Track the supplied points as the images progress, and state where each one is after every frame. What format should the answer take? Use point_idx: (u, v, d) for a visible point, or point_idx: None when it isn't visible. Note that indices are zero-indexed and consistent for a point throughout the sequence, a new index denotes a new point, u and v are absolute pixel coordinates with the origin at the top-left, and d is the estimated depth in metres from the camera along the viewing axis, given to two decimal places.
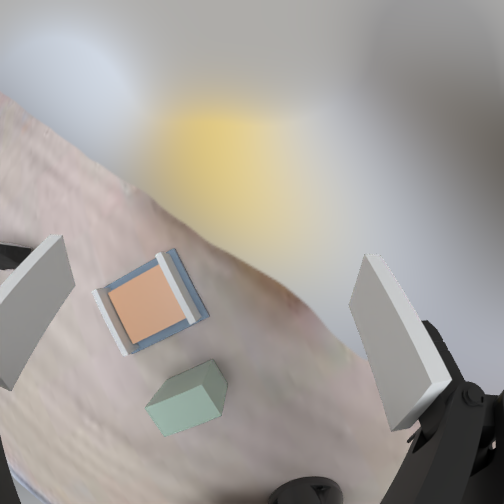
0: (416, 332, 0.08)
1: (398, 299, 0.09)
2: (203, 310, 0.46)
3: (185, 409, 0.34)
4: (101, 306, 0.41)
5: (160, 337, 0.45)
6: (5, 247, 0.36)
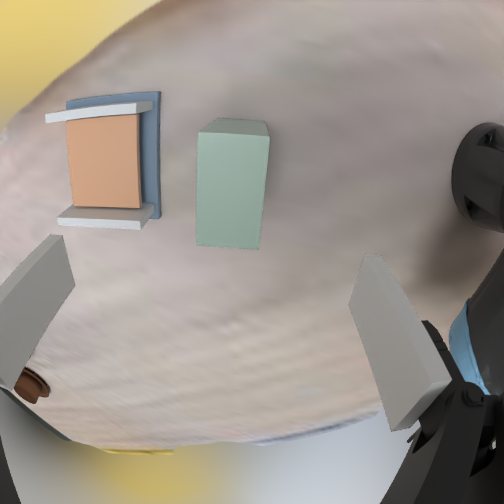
0: (416, 332, 0.08)
1: (398, 299, 0.09)
2: (146, 94, 0.27)
3: (227, 184, 0.21)
4: (76, 222, 0.29)
5: (152, 167, 0.32)
6: None
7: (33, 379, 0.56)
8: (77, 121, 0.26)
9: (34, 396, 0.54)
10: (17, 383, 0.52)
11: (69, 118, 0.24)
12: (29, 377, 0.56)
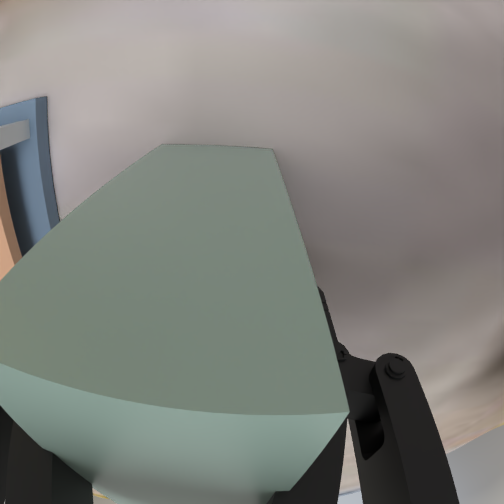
0: None
1: None
2: (18, 106, 0.10)
3: (146, 484, 0.04)
4: None
5: None
6: None
7: None
8: None
9: None
10: None
11: None
12: None
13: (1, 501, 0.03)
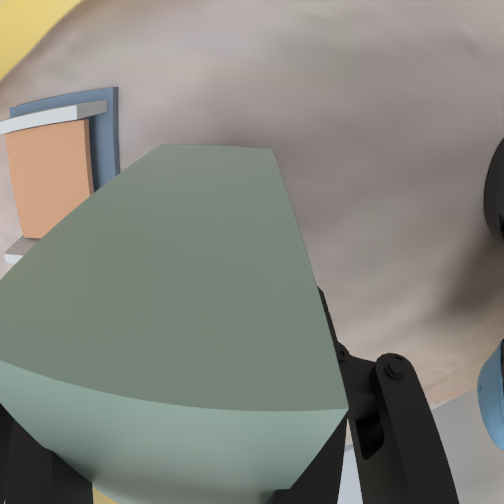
0: None
1: None
2: (99, 91, 0.19)
3: (146, 483, 0.04)
4: None
5: None
6: None
7: None
8: (17, 133, 0.18)
9: None
10: None
11: (2, 131, 0.15)
12: None
13: (1, 501, 0.03)
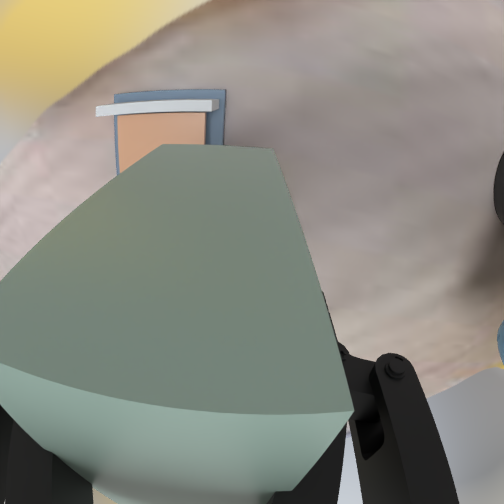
0: None
1: None
2: (212, 91, 0.26)
3: (148, 485, 0.04)
4: None
5: None
6: None
7: None
8: (132, 116, 0.25)
9: None
10: None
11: (127, 112, 0.23)
12: None
13: (1, 501, 0.03)
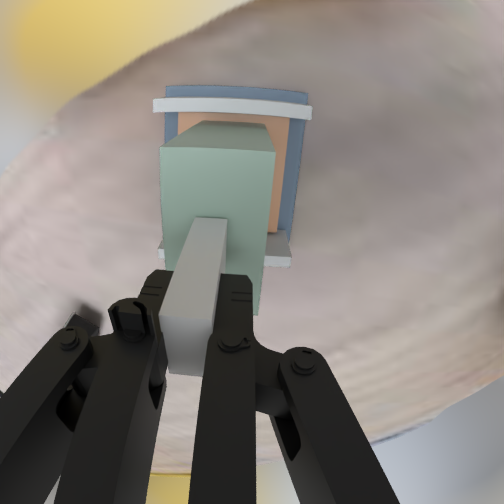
0: (205, 277, 0.10)
1: (210, 251, 0.11)
2: (293, 93, 0.22)
3: None
4: None
5: (291, 187, 0.27)
6: None
7: None
8: (198, 114, 0.22)
9: None
10: None
11: (199, 109, 0.19)
12: None
13: None
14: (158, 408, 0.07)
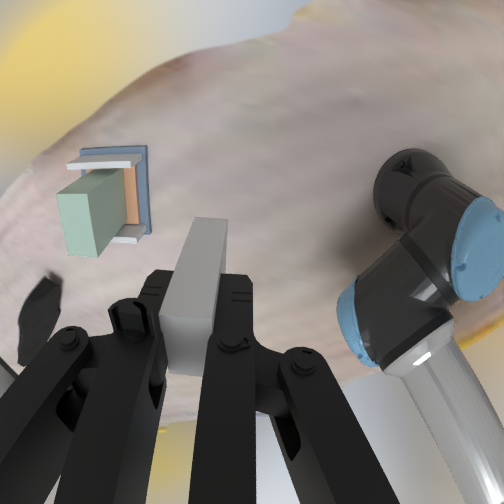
0: (205, 277, 0.10)
1: (210, 251, 0.11)
2: (137, 148, 0.41)
3: (74, 221, 0.33)
4: None
5: (144, 199, 0.46)
6: (28, 299, 0.45)
7: None
8: None
9: None
10: None
11: (84, 168, 0.38)
12: None
13: None
14: (158, 408, 0.07)
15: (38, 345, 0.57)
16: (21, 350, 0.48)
